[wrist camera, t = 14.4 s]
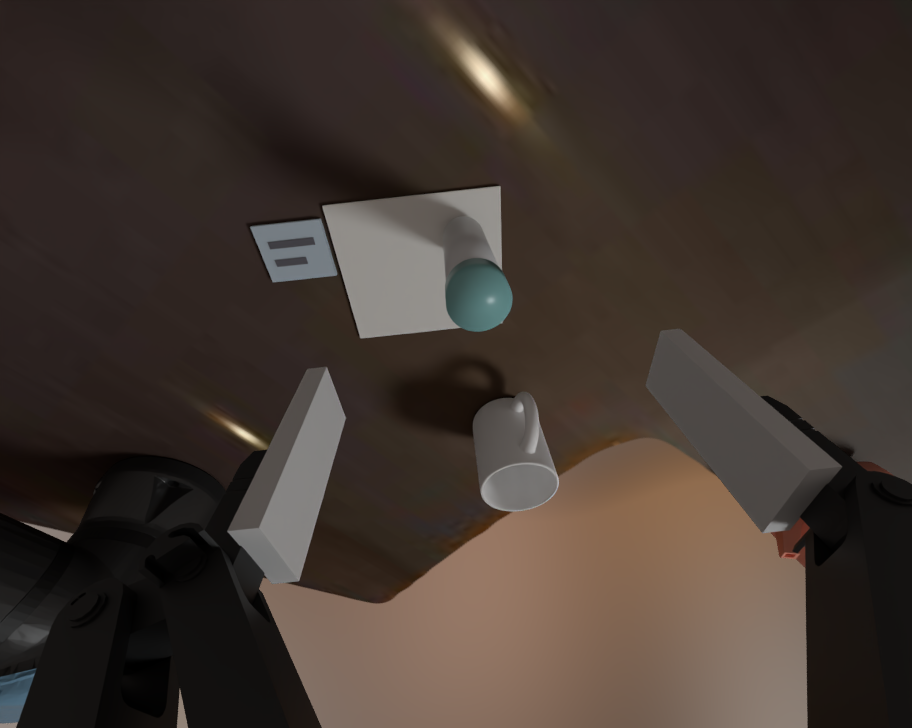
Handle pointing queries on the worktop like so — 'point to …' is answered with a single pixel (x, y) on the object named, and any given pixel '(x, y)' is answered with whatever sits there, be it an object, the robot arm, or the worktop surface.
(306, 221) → the word card
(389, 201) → the paper
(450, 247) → the marker
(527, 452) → the mug
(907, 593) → the robot arm
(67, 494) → the worktop surface
